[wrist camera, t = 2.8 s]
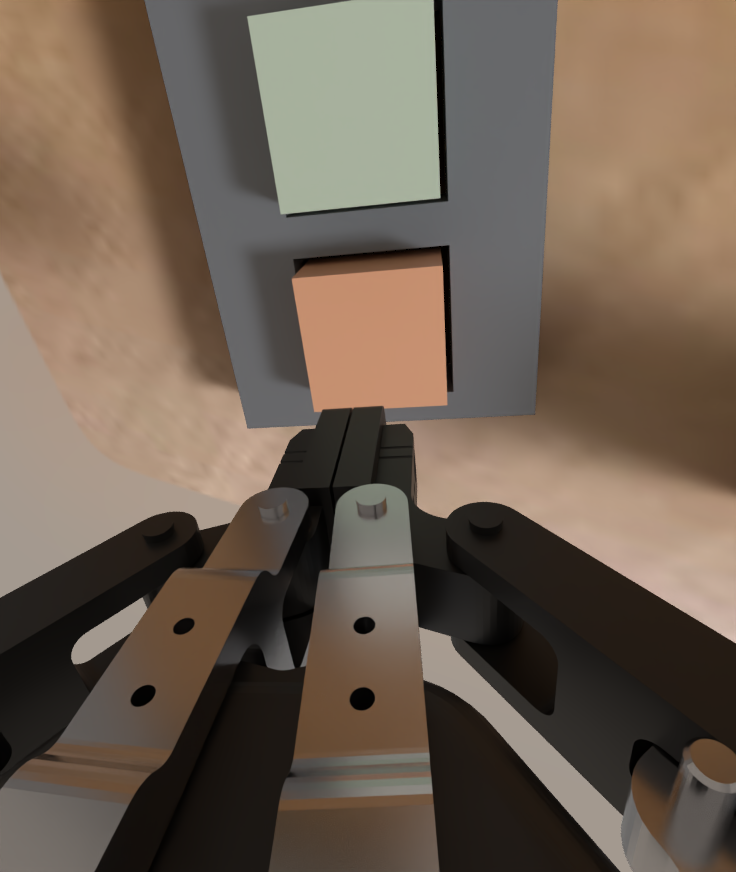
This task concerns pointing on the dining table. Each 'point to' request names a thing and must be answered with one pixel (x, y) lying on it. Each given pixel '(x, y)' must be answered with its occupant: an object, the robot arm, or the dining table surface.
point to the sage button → (349, 102)
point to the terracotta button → (374, 329)
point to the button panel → (374, 224)
